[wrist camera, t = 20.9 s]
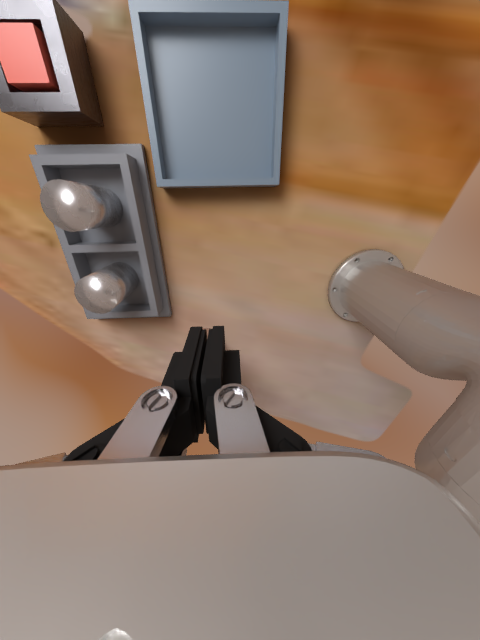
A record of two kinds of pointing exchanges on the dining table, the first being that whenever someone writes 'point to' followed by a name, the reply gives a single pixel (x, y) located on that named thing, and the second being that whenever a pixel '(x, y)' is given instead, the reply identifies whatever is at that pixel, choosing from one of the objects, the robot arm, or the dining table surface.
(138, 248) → the grey divided tray
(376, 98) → the dining table surface
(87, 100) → the box
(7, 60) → the button
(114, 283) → the seated billet
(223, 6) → the tray
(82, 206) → the billet
